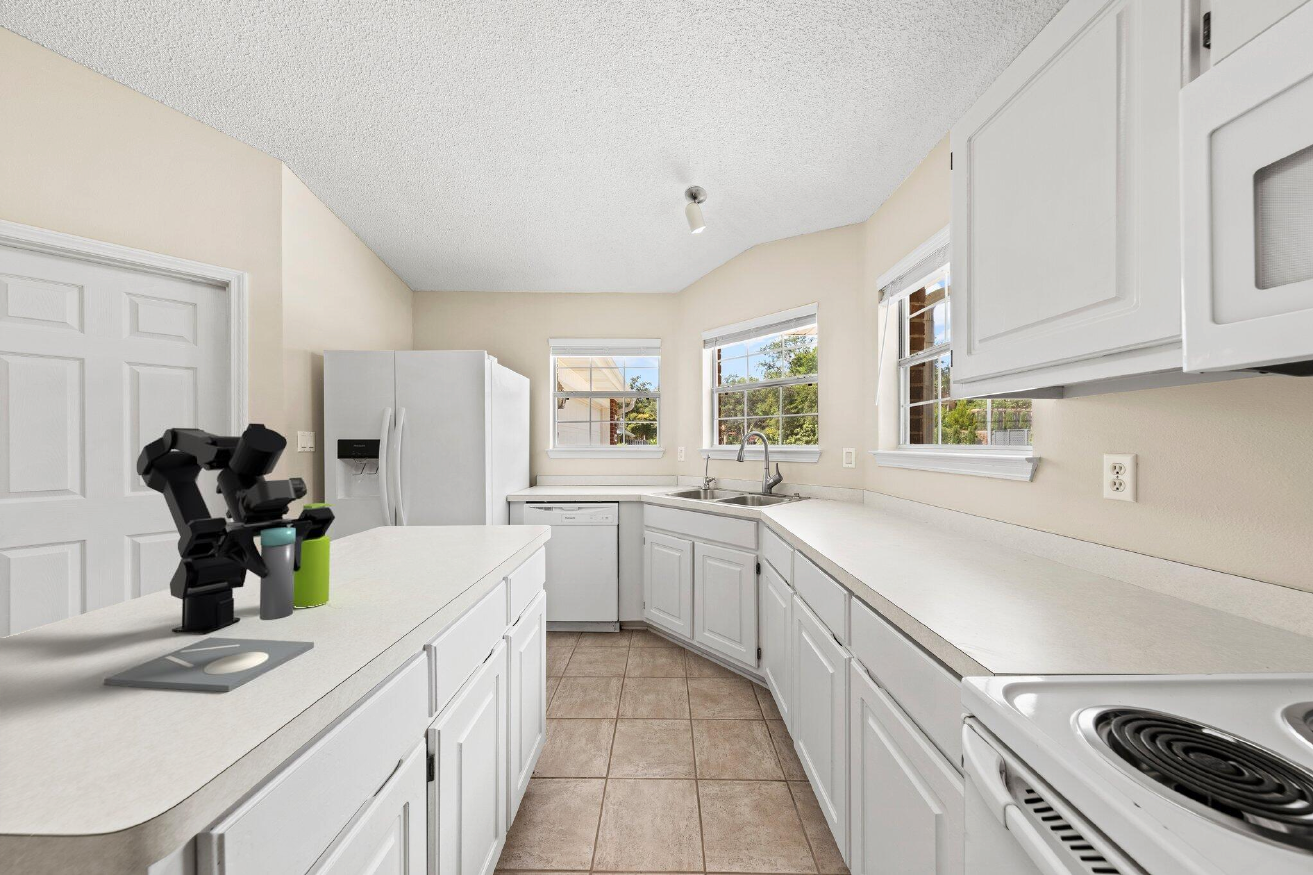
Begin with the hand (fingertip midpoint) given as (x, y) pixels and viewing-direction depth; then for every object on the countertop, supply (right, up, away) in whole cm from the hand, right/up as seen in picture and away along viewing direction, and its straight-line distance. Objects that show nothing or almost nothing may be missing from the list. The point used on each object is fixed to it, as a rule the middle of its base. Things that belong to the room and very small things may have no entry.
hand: (281, 573), depth 73 cm
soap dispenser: (-13, -13, +25) cm, 31 cm away
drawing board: (-7, -12, -3) cm, 15 cm away
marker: (-1, -7, +1) cm, 7 cm away
